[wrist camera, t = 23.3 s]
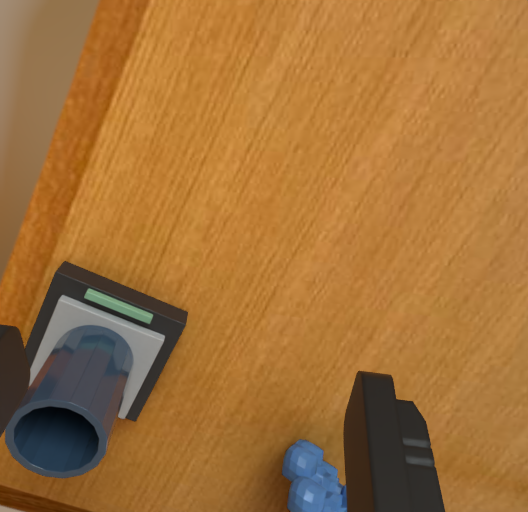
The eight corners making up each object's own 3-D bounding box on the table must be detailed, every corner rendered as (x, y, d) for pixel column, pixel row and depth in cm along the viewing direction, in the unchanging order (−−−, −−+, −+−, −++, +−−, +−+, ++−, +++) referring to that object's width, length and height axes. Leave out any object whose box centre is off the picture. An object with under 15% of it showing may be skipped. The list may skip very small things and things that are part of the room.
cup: (76, 311, 35) (31, 384, 28) (148, 348, 37) (124, 427, 29) (40, 368, 37) (-12, 453, 29) (110, 402, 39) (79, 491, 31)
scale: (64, 260, 37) (51, 276, 34) (188, 312, 39) (184, 330, 37) (23, 363, 40) (8, 384, 37) (139, 405, 42) (133, 428, 40)
